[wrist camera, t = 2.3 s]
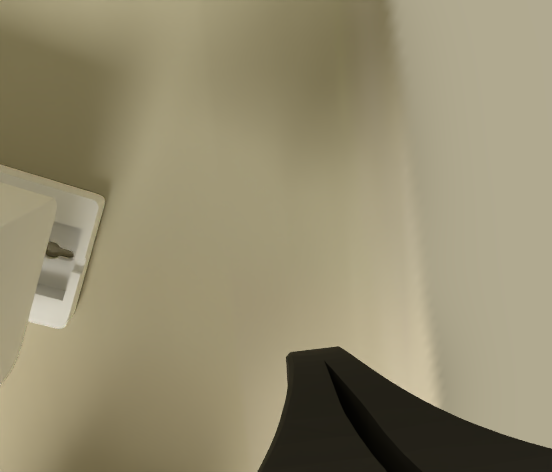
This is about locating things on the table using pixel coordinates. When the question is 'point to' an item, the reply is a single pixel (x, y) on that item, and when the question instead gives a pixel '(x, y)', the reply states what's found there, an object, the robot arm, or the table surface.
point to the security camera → (41, 254)
